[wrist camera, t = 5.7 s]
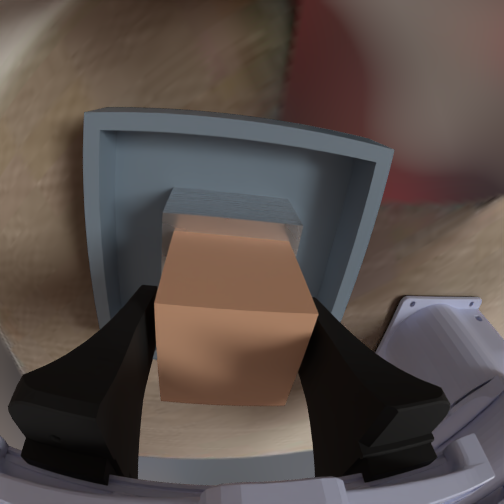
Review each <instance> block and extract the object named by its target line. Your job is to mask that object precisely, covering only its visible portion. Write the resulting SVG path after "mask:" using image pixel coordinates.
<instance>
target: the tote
mask: <svg viewBox="0 0 504 504" xmlns="http://www.w3.org/2000/svg"><path fill="white" fill-rule="evenodd" d="M393 153H394V149H391V148H389V147H387V146H384V145H382V144H380V143H378V142H375V141H373V140H371V139H368V138H364V137H360V136H356V135H351V134H347V133H342V132H338V131H333V130H328V129H323V128H318V127H313V126H308V125H302V124H297V123H291V122H285V121H279V120H273V119H266V118H259V117H252V116H244V115H236V114H227V113H217V112H207V111H195V110H181V109H164V108H136V107H106V108H101V109H97V110H92V111H88V112H84V131H83V185H84V208H85V223H86V235H87V246H88V255H89V264H90V272H91V280H92V287H93V293H94V300H95V306H96V312H97V317H98V323H99V328H100V329H101V328H102V327H103V326H104V325H106V324H107V323H108V322H109V321H110V320H111V319H112V318H113V317H114V316H115V315H116V314H117V313H118V312H119V310H120V309H121V308H122V307H123V306H124V305H125V304H126V303H127V302H128V300H129V299H130V298H131V297H132V296H133V295H134V293H135V292H136V291H137V290H138V288H139V287H140V286H141V285H152V286H158V287H159V283H160V279H161V260H162V215H163V210H164V208H165V206H166V203H167V201H168V199H169V197H170V194H171V192H172V190H173V188H174V187H176V188H188V189H200V190H211V191H221V192H231V193H241V194H250V195H259V196H268V197H276V198H285V199H288V200H289V202H290V203H291V205H292V207H293V209H294V210H295V212H296V214H297V216H298V217H299V219H300V221H301V223H302V224H303V229H302V234H301V238H300V242H299V247H298V251H297V255H296V259H297V262H298V264H299V266H300V269H301V271H302V274H303V276H304V279H305V281H306V284H307V286H308V289H309V291H310V294H311V296H312V297H315V298H317V299H318V300H319V301H320V302H321V303H322V304H323V305H324V306H325V307H326V309H327V310H328V311H329V312H330V313H331V314H332V315H333V316H334V317H335V318H336V319H337V320H338V321H339V322H341V319H342V317H343V314H344V311H345V309H346V306H347V303H348V301H349V298H350V295H351V293H352V290H353V287H354V284H355V281H356V279H357V276H358V273H359V270H360V267H361V264H362V261H363V258H364V255H365V252H366V249H367V246H368V243H369V240H370V236H371V233H372V230H373V227H374V223H375V220H376V217H377V213H378V210H379V207H380V203H381V200H382V196H383V192H384V189H385V185H386V181H387V177H388V174H389V169H390V166H391V162H392V158H393ZM153 359H157V348H155V352H154V356H153Z"/></svg>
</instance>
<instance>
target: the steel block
mask: <svg viewBox="0 0 504 504" xmlns="http://www.w3.org/2000/svg"><path fill="white" fill-rule="evenodd" d="M302 229H303V224H302V223H301V221H300V219H299V217H298V216H297V214H296V212H295V210H294V209H293V207H292V205H291V203H290V202H289V200H288V199H285V198H276V197H268V196H259V195H250V194H241V193H231V192H221V191H211V190H200V189H188V188H176V187H174V188H173V190H172V192H171V194H170V197H169V199H168V201H167V203H166V206H165V208H164V210H163V215H162V260H161V275H162V271H163V268H164V264H165V260H166V257H167V253H168V250H169V246H170V243H171V239H172V236H173V232H174V231H183V232H195V233H206V234H217V235H228V236H239V237H249V238H260V239H270V240H281V241H289V242H290V245H291V247H292V249H293V252H294V254H295V257H296V255H297V251H298V247H299V242H300V238H301V234H302Z"/></svg>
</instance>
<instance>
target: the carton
mask: <svg viewBox="0 0 504 504" xmlns="http://www.w3.org/2000/svg"><path fill="white" fill-rule="evenodd" d="M154 309H155V331H156V348H157V362H158V375H159V386H160V396H161V401H169V402H180V403H192V404H208V405H232V406H285V403H286V401H287V399H288V396H289V393H290V391H291V388H292V386H293V383H294V381H295V378H296V375H297V373H298V370H299V368H300V365H301V362H302V359H303V357H304V354H305V351H306V349H307V346H308V343H309V340H310V337H311V335H312V332H313V329H314V326H315V323H316V320H317V317H318V311H317V309H316V306H315V304H314V301H313V299H312V296H311V294H310V291H309V289H308V286H307V284H306V281H305V279H304V276H303V274H302V271H301V269H300V266H299V264H298V262H297V259H296V257H295V254H294V252H293V249H292V247H291V245H290V242H289V241H281V240H270V239H260V238H249V237H239V236H228V235H217V234H206V233H195V232H183V231H174V232H173V236H172V239H171V243H170V246H169V250H168V253H167V257H166V260H165V264H164V268H163V271H162V275H161V279H160V283H159V287H158V291H157V294H156V298H155V302H154Z"/></svg>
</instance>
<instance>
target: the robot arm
mask: <svg viewBox="0 0 504 504" xmlns="http://www.w3.org/2000/svg"><path fill="white" fill-rule="evenodd" d="M157 291H158V286H152V285H141V286H140V287H139V288H138V290H137V291H136V292H135V293H134V295H133V296H132V297H131V298H130V299H129V300H128V302H127V303H126V304H125V305H124V306H123V307H122V308H121V309H120V310H119V312H118V313H117V314H116V315H115V316H114V317H113V318H112V319H111V320H110V321H109V322H108V323H107V324H106V325H104V326H103V327H102V328H101V329H100V330H99V331H98V332H97V333H96V334H94V335H93V336H92V337H91V338H89V339H88V340H87V341H86V342H84V343H83V344H81V345H80V346H78V347H77V348H75V349H74V350H72V351H71V352H69V353H68V354H66V355H64V356H63V357H61V358H59V359H57V360H55V361H54V362H52V363H50V364H48V365H45V366H43V367H41V368H39V369H36V370H34V371H31V372H29V373H26V374H24V375H23V376H22V378H21V379H20V381H19V383H18V385H17V387H16V389H15V392H14V394H13V396H12V399H11V401H10V403H9V406H8V410H9V413H10V415H11V417H12V419H13V420H14V422H15V423H16V425H17V426H18V427H19V429H20V430H21V431H22V433H23V434H24V435H25V437H26V440H25V443H24V446H23V449H22V451H21V450H19V449H16V448H13V447H11V446H8V444H7V443H6V441H5V440H4V439H3V438H2V437H1V436H0V504H504V339H503V338H502V337H501V336H500V334H499V333H498V332H497V331H496V330H495V328H494V327H493V326H492V325H491V324H490V322H489V321H488V320H487V319H486V318H485V317H484V315H483V314H482V313H481V312H480V311H479V310H478V309H479V307H480V305H481V303H482V300H481V298H480V297H433V296H405V297H403V298H402V299H401V301H400V303H399V305H398V307H397V309H396V311H395V314H394V316H393V318H392V320H391V322H390V324H389V326H388V328H387V330H386V332H385V334H384V336H383V338H382V340H381V342H380V344H379V346H378V348H377V350H376V352H373V351H372V350H371V349H369V348H368V347H367V346H365V345H364V344H363V343H362V342H361V341H360V340H358V339H357V338H356V337H355V336H354V335H353V334H352V333H351V332H349V331H348V330H347V329H346V328H345V327H344V326H343V325H342V324H341V323H340V322H339V321H338V320H337V319H336V318H335V317H334V316H333V315H332V314H331V313H330V312H329V311H328V310H327V309H326V307H325V306H324V305H323V304H322V303H321V302H320V301H319V300H318V299H317V298H315V297H312V299H313V301H314V304H315V306H316V309H317V311H318V317H317V320H316V323H315V326H314V329H313V332H312V335H311V337H310V340H309V343H308V346H307V349H306V351H305V354H304V357H303V359H302V362H301V365H300V368H299V370H298V373H299V377H300V380H301V384H302V387H303V391H304V394H305V398H306V402H307V406H308V413H309V419H310V426H311V434H312V442H313V453H314V464H315V477H314V478H305V479H295V480H284V481H269V482H243V483H242V482H240V483H227V484H219V485H216V486H209V485H207V486H206V485H189V484H174V483H164V482H155V481H147V480H139V479H138V453H139V437H140V424H141V414H142V405H143V398H144V392H145V388H146V384H147V380H148V376H149V372H150V368H151V364H152V360H153V356H154V352H155V348H156V331H155V309H154V302H155V298H156V294H157ZM411 302H412V303H411ZM410 303H411V304H410Z"/></svg>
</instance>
